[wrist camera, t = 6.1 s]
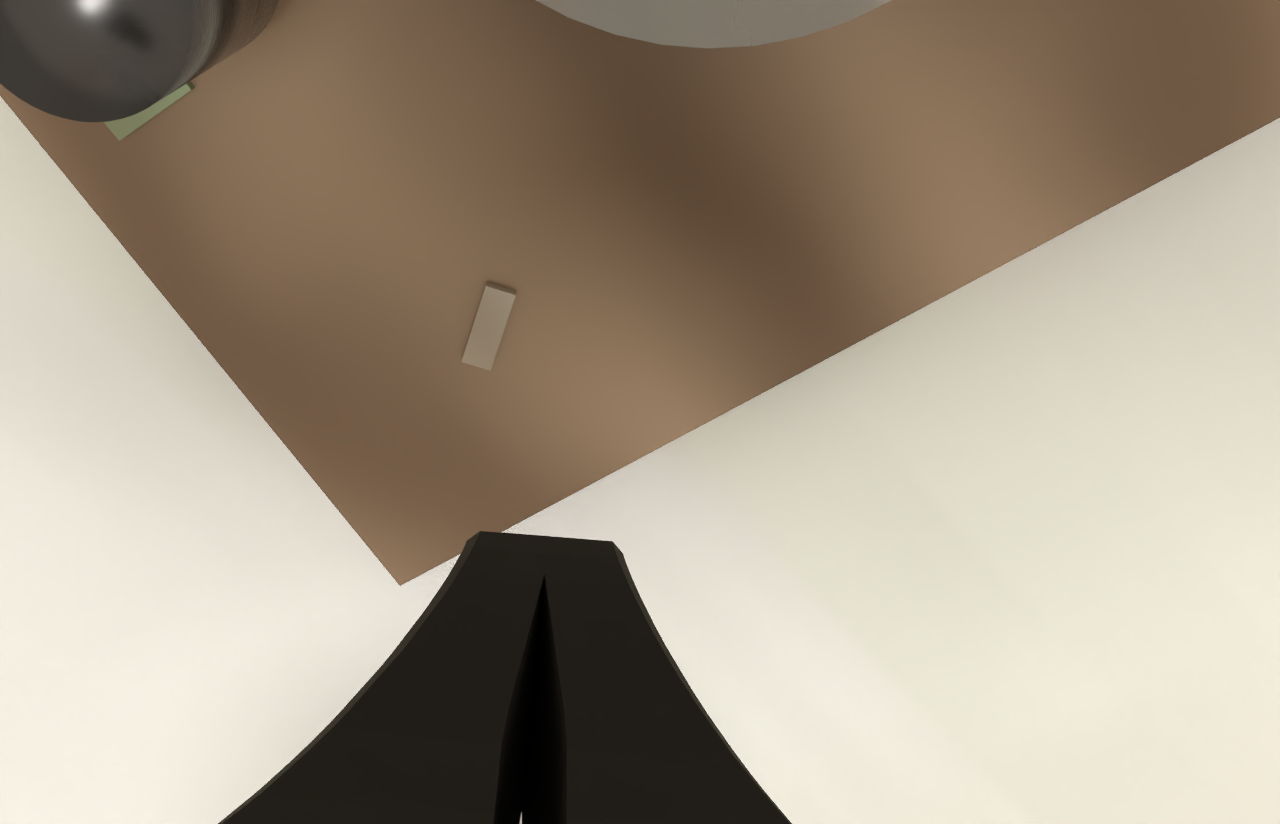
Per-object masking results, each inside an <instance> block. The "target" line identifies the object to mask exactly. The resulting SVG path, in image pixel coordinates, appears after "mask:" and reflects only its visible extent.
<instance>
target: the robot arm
mask: <svg viewBox="0 0 1280 824" xmlns="http://www.w3.org/2000/svg"><path fill="white" fill-rule="evenodd" d="M521 812H522V824H792V823H791V822H790V821H789V820H788V819H787V817H786V816H785V815H784V814H783V813H782V812H781V810H780V809H779V808H778V807H777V806H776V804H775V803H774V802H773V801H772V800H771V799H770V797H769V796H768V795H767V794H766V793H765V791H764V790H763V789H762V788H761V786H760V785H759V784H758V783H757V781H756V780H755V779H754V778H753V776H752V775H751V774H750V772H749V771H748V770H747V768H746V767H745V766H744V764H743V763H742V762H741V760H740V759H739V758H738V756H737V755H736V754H735V752H734V751H733V750H732V748H731V747H730V745H729V744H728V743H727V741H726V740H725V738H724V737H723V735H722V734H721V733H720V731H719V730H718V728H717V727H716V726H715V724H714V723H713V721H712V720H711V718H710V717H709V716H708V714H707V712H706V711H705V709H704V708H703V706H702V705H701V703H700V702H699V700H698V699H697V697H696V696H695V694H694V692H693V691H692V689H691V688H690V686H689V684H688V683H687V681H686V679H685V678H684V676H683V674H682V673H681V671H680V669H679V667H678V666H677V664H676V662H675V661H674V659H673V657H672V656H671V654H670V652H669V651H668V649H667V647H666V646H665V644H664V642H663V640H662V638H661V636H660V635H659V633H658V631H657V629H656V627H655V625H654V623H653V621H652V619H651V617H650V615H649V613H648V611H647V609H646V607H645V605H644V603H643V601H642V599H641V597H640V595H639V593H638V591H637V589H636V586H635V584H634V582H633V579H632V577H631V575H630V572H629V570H628V567H627V565H626V562H625V559H624V556H623V553H622V552H621V551H620V550H619V549H618V547H617V546H616V545H615V544H614V543H613V542H612V541H599V540H587V539H575V538H562V537H550V536H537V535H525V534H513V533H500V532H488V531H479V532H478V533H477V534H475V535H474V536H472V537H471V538H470V539H468V540H467V541H466V544H465V546H464V548H463V551H462V553H461V555H460V556H459V558H458V560H457V562H456V564H455V565H454V567H453V569H452V570H451V572H450V574H449V575H448V577H447V579H446V580H445V582H444V583H443V585H442V586H441V588H440V589H439V591H438V592H437V594H436V595H435V597H434V598H433V600H432V601H431V602H430V604H429V605H428V607H427V608H426V610H425V611H424V612H423V614H422V615H421V616H420V618H419V619H418V620H417V621H416V623H415V624H414V625H413V627H412V628H411V629H410V631H409V632H408V633H407V635H406V636H405V637H404V638H403V640H402V641H401V642H400V644H399V645H398V646H397V648H396V649H395V650H394V651H393V653H392V654H391V655H390V656H389V658H388V659H387V660H386V661H385V663H384V664H383V665H382V666H381V667H380V668H379V670H378V671H377V672H376V673H375V674H374V675H373V676H372V677H371V678H370V680H369V681H368V682H367V683H366V684H365V685H364V686H363V687H362V688H361V690H360V691H359V692H358V693H357V694H356V695H355V696H354V697H353V699H352V700H351V701H350V702H349V703H348V704H347V705H346V706H345V707H344V709H343V710H342V711H341V712H340V713H339V714H338V715H337V716H336V717H335V718H334V719H333V720H332V722H331V723H330V724H329V725H328V726H327V727H326V728H325V729H324V730H323V731H322V732H321V733H320V734H319V735H318V736H317V737H316V738H315V739H314V740H313V741H312V742H311V743H310V744H309V745H308V746H307V747H305V748H304V749H303V750H302V751H301V752H300V753H299V754H298V755H297V756H296V757H295V758H294V759H293V760H292V761H291V762H290V763H289V764H287V765H286V766H285V767H284V768H283V769H282V770H281V771H280V772H279V773H278V774H276V775H275V776H274V777H273V778H272V779H271V780H270V781H269V782H268V783H267V784H265V785H264V786H263V787H262V788H261V789H260V790H259V791H257V792H256V793H255V794H254V795H253V796H252V797H250V798H249V799H248V800H247V801H245V802H244V803H243V804H242V805H240V806H239V807H238V808H237V809H236V810H234V811H233V812H232V813H231V814H229V815H228V816H227V817H226V818H225V819H223V820H222V821H221V822H220V823H218V824H519V823H520V818H521Z"/></svg>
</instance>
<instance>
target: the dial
mask: <svg viewBox="0 0 1280 824" xmlns="http://www.w3.org/2000/svg"><path fill="white" fill-rule="evenodd" d="M536 1H538V2H540V3H542V4H544V5H546V6H547V7H549V8H551V9H553V10H555V11H557V12H559V13H561V14H563V15H565V16H567V17H568V18H571V19H573V20H576V21H579V22H582V23H584V24H587V25H590V26H593V27H595V28H598V29H601V30H604V31H606V32H609V33H612V34H615V35H619V36H624V37H628V38H633V39H637V40H642V41H647V42H651V43H656V44H660V45H671V46H684V47H696V48H725V47H743V46H757V45H762V44H767V43H773V42H778V41H783V40H788V39H793V38H798V37H803V36H806V35H809V34H812V33H815V32H818V31H821V30H824V29H827V28H830V27H833V26H836V25H839V24H842V23H845V22H848V21H850V20H852V19H854V18H856V17H859V16H861V15H863V14H865V13H867V12H869V11H871V10H873V9H875V8H877V7H879V6H881V5H883V4H885V3H887V2H889V1H892V0H536ZM277 3H278V0H0V84H1V85H2V86H3V87H5V88H6V89H7V90H8V91H10V92H11V93H12V94H14V95H15V96H16V97H18V98H19V99H21V100H23V101H24V102H26V103H28V104H29V105H31V106H33V107H35V108H37V109H39V110H42V111H44V112H46V113H48V114H51V115H55V116H58V117H61V118H64V119H69V120H74V121H81V122H109V121H114V120H119V119H123V118H126V117H129V116H132V115H135V114H137V113H139V112H141V111H143V110H145V109H147V108H149V107H150V106H152V105H153V104H155V103H157V102H158V101H160V100H161V99H163V98H164V97H166V96H168V95H169V94H171V93H172V92H174V91H175V90H177V89H179V88H180V87H182V86H183V85H185V84H187V83H188V82H190V81H191V80H193V79H194V78H196V77H198V76H199V75H201V74H202V73H204V72H206V71H207V70H209V69H210V68H212V67H213V66H215V65H217V64H218V63H220V62H221V61H223V60H224V59H226V58H228V57H229V56H231V55H232V54H234V53H236V52H237V51H239V50H240V49H242V48H243V47H245V46H246V45H248V44H249V43H250V42H252V41H253V40H254V39H255V38H256V37H257V36H258V35H259V34H260V33H261V32H262V31H263V30H264V29H265V27H266V26H267V25H268V23H269V21H270V19H271V18H272V16H273V14H274V12H275V9H276V6H277Z"/></svg>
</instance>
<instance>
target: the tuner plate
mask: <svg viewBox="0 0 1280 824" xmlns="http://www.w3.org/2000/svg"><path fill="white" fill-rule="evenodd" d="M0 96H1V97H2V98H3V99H4V101H5V102H6V103H7V104H8V106H9V107H10V108H11V109H12V110H13V112H14V113H15V114H16V115H17V117H18V118H19V119H20V120H21V122H22V123H23V124H24V125H25V126H26V128H27V129H28V130H29V131H30V133H31V134H32V135H33V136H34V137H35V139H36V140H37V141H38V142H39V144H40V145H41V146H42V147H43V148H44V150H45V151H46V152H47V153H48V155H49V156H50V157H51V158H52V160H53V161H54V162H55V163H56V164H57V166H58V167H59V168H60V169H61V171H62V172H63V173H64V174H65V175H66V177H67V178H68V179H69V180H70V182H71V183H72V184H73V185H74V187H75V188H76V189H77V190H78V191H79V193H80V194H81V195H82V196H83V198H84V199H85V200H86V201H87V202H88V204H89V205H90V206H91V207H92V209H93V210H94V211H95V212H96V214H97V215H98V216H99V217H100V218H101V220H102V221H103V222H104V223H105V225H106V226H107V227H108V228H109V229H110V231H111V232H112V233H113V234H114V236H115V237H116V238H117V239H118V240H119V242H120V243H121V244H122V245H123V247H124V248H125V249H126V250H127V252H128V253H129V254H130V255H131V256H132V258H133V259H134V260H135V261H136V263H137V264H138V265H139V266H140V267H141V269H142V270H143V271H144V272H145V274H146V275H147V276H148V277H149V279H150V280H151V281H152V282H153V283H154V285H155V286H156V287H157V288H158V290H159V291H160V292H161V293H162V294H163V296H164V297H165V298H166V299H167V301H168V302H169V303H170V304H171V306H172V307H173V308H174V309H175V310H176V312H177V313H178V314H179V315H180V317H181V318H182V319H183V320H184V321H185V323H186V324H187V325H188V326H189V328H190V329H191V330H192V331H193V333H194V334H195V335H196V336H197V337H198V339H199V340H200V341H201V342H202V344H203V345H204V346H205V347H206V348H207V350H208V351H209V352H210V353H211V355H212V356H213V357H214V358H215V359H216V361H217V362H218V363H219V364H220V366H221V367H222V368H223V369H224V371H225V372H226V373H227V374H228V375H229V377H230V378H231V379H232V380H233V382H234V383H235V384H236V385H237V386H238V388H239V389H240V390H241V391H242V393H243V394H244V395H245V396H246V398H247V399H248V400H249V401H250V402H251V404H252V405H253V406H254V407H255V409H256V410H257V411H258V412H259V413H260V415H261V416H262V417H263V418H264V420H265V421H266V422H267V423H268V425H269V426H270V427H271V428H272V429H273V431H274V432H275V433H276V434H277V436H278V437H279V438H280V439H281V440H282V442H283V443H284V444H285V445H286V447H287V448H288V449H289V450H290V451H291V453H292V454H293V455H294V456H295V458H296V459H297V460H298V461H299V463H300V464H301V465H302V466H303V467H304V469H305V470H306V471H307V472H308V474H309V475H310V476H311V477H312V478H313V480H314V481H315V482H316V483H317V485H318V486H319V487H320V488H321V490H322V491H323V492H324V493H325V494H326V496H327V497H328V498H329V499H330V501H331V502H332V503H333V504H334V505H335V507H336V508H337V509H338V510H339V512H340V513H341V514H342V515H343V517H344V518H345V519H346V520H347V521H348V523H349V524H350V525H351V526H352V528H353V529H354V530H355V531H356V532H357V534H358V535H359V536H360V537H361V539H362V540H363V541H364V542H365V544H366V545H367V546H368V547H369V548H370V550H371V551H372V552H373V553H374V555H375V556H376V557H377V558H378V559H379V561H380V562H381V563H382V564H383V566H384V567H385V568H386V569H387V570H388V572H389V573H390V574H391V575H392V577H393V578H394V579H395V580H396V582H397V583H398V584H399V585H400V586H401V585H403V584H404V583H406V582H408V581H410V580H412V579H414V578H416V577H418V576H419V575H421V574H423V573H425V572H427V571H429V570H431V569H433V568H434V567H436V566H438V565H440V564H442V563H444V562H446V561H448V560H450V559H451V558H453V557H455V556H457V555H459V554H461V553H462V551H463V548H464V546H465V544H466V541H467V540H468V539H470V538H471V537H472V536H474V535H475V534H477V533H478V532H479V531H488V532H502V531H504V530H506V529H508V528H510V527H512V526H513V525H515V524H517V523H519V522H521V521H523V520H525V519H527V518H528V517H530V516H532V515H534V514H536V513H538V512H540V511H542V510H543V509H545V508H547V507H549V506H551V505H553V504H555V503H557V502H558V501H560V500H562V499H564V498H566V497H568V496H570V495H572V494H574V493H575V492H577V491H579V490H581V489H583V488H585V487H587V486H589V485H590V484H592V483H594V482H596V481H598V480H600V479H602V478H604V477H605V476H607V475H609V474H611V473H613V472H615V471H617V470H619V469H620V468H622V467H624V466H626V465H628V464H630V463H632V462H634V461H636V460H637V459H639V458H641V457H643V456H645V455H647V454H649V453H651V452H652V451H654V450H656V449H658V448H660V447H662V446H664V445H666V444H667V443H669V442H671V441H673V440H675V439H677V438H679V437H681V436H682V435H684V434H686V433H688V432H690V431H692V430H694V429H696V428H698V427H699V426H701V425H703V424H705V423H707V422H709V421H711V420H713V419H714V418H716V417H718V416H720V415H722V414H724V413H726V412H728V411H729V410H731V409H733V408H735V407H737V406H739V405H741V404H743V403H744V402H746V401H748V400H750V399H752V398H754V397H756V396H758V395H760V394H761V393H763V392H765V391H767V390H769V389H771V388H773V387H775V386H776V385H778V384H780V383H782V382H784V381H786V380H788V379H790V378H791V377H793V376H795V375H797V374H799V373H801V372H803V371H805V370H806V369H808V368H810V367H812V366H814V365H816V364H818V363H820V362H822V361H823V360H825V359H827V358H829V357H831V356H833V355H835V354H837V353H838V352H840V351H842V350H844V349H846V348H848V347H850V346H852V345H853V344H855V343H857V342H859V341H861V340H863V339H865V338H867V337H868V336H870V335H872V334H874V333H876V332H878V331H880V330H882V329H884V328H885V327H887V326H889V325H891V324H893V323H895V322H897V321H899V320H900V319H902V318H904V317H906V316H908V315H910V314H912V313H914V312H915V311H917V310H919V309H921V308H923V307H925V306H927V305H929V304H930V303H932V302H934V301H936V300H938V299H940V298H942V297H944V296H946V295H947V294H949V293H951V292H953V291H955V290H957V289H959V288H961V287H962V286H964V285H966V284H968V283H970V282H972V281H974V280H976V279H977V278H979V277H981V276H983V275H985V274H987V273H989V272H991V271H992V270H994V269H996V268H998V267H1000V266H1002V265H1004V264H1006V263H1008V262H1009V261H1011V260H1013V259H1015V258H1017V257H1019V256H1021V255H1023V254H1024V253H1026V252H1028V251H1030V250H1032V249H1034V248H1036V247H1038V246H1039V245H1041V244H1043V243H1045V242H1047V241H1049V240H1051V239H1053V238H1054V237H1056V236H1058V235H1060V234H1062V233H1064V232H1066V231H1068V230H1070V229H1071V228H1073V227H1075V226H1077V225H1079V224H1081V223H1083V222H1085V221H1086V220H1088V219H1090V218H1092V217H1094V216H1096V215H1098V214H1100V213H1101V212H1103V211H1105V210H1107V209H1109V208H1111V207H1113V206H1115V205H1117V204H1118V203H1120V202H1122V201H1124V200H1126V199H1128V198H1130V197H1132V196H1133V195H1135V194H1137V193H1139V192H1141V191H1143V190H1145V189H1147V188H1148V187H1150V186H1152V185H1154V184H1156V183H1158V182H1160V181H1162V180H1163V179H1165V178H1167V177H1169V176H1171V175H1173V174H1175V173H1177V172H1179V171H1180V170H1182V169H1184V168H1186V167H1188V166H1190V165H1192V164H1194V163H1195V162H1197V161H1199V160H1201V159H1203V158H1205V157H1207V156H1209V155H1210V154H1212V153H1214V152H1216V151H1218V150H1220V149H1222V148H1224V147H1225V146H1227V145H1229V144H1231V143H1233V142H1235V141H1237V140H1239V139H1241V138H1242V137H1244V136H1246V135H1248V134H1250V133H1252V132H1254V131H1256V130H1257V129H1259V128H1261V127H1263V126H1265V125H1267V124H1269V123H1271V122H1272V121H1274V120H1276V119H1278V118H1280V0H892V1H889V2H887V3H885V4H883V5H881V6H879V7H877V8H875V9H873V10H871V11H869V12H867V13H865V14H863V15H861V16H859V17H856V18H854V19H852V20H850V21H848V22H845V23H842V24H839V25H836V26H833V27H830V28H827V29H824V30H821V31H818V32H815V33H812V34H809V35H806V36H803V37H798V38H793V39H788V40H783V41H778V42H773V43H767V44H762V45H757V46H743V47H725V48H696V47H684V46H671V45H660V44H656V43H651V42H647V41H642V40H637V39H633V38H628V37H624V36H619V35H615V34H612V33H609V32H606V31H604V30H601V29H598V28H595V27H593V26H590V25H587V24H584V23H582V22H579V21H576V20H573V19H571V18H568V17H567V16H565V15H563V14H561V13H559V12H557V11H555V10H553V9H551V8H549V7H547V6H546V5H544V4H542V3H540V2H538V1H536V0H278V3H277V6H276V9H275V12H274V14H273V16H272V18H271V19H270V21H269V23H268V25H267V26H266V27H265V29H264V30H263V31H262V32H261V33H260V34H259V35H258V36H257V37H256V38H255V39H254V40H253V41H252V42H250V43H249V44H248V45H246V46H245V47H243V48H242V49H240V50H239V51H237V52H236V53H234V54H232V55H231V56H229V57H228V58H226V59H224V60H223V61H221V62H220V63H218V64H217V65H215V66H213V67H212V68H210V69H209V70H207V71H206V72H204V73H202V74H201V75H199V76H198V77H196V78H194V79H193V80H191V81H190V82H188V83H187V84H185V85H183V86H182V87H180V88H179V89H177V90H175V91H174V92H172V93H171V94H169V95H168V96H166V97H164V98H163V99H161V100H160V101H158V102H157V103H155V104H153V105H152V106H150V107H149V108H147V109H145V110H143V111H141V112H139V113H137V114H135V115H132V116H129V117H126V118H123V119H119V120H114V121H109V122H81V121H74V120H69V119H64V118H61V117H58V116H55V115H51V114H48V113H46V112H44V111H42V110H39V109H37V108H35V107H33V106H31V105H29V104H28V103H26V102H24V101H23V100H21V99H19V98H18V97H16V96H15V95H14V94H12V93H11V92H10V91H8V90H7V89H6V88H5V87H3V86H2V85H1V84H0Z"/></svg>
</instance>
